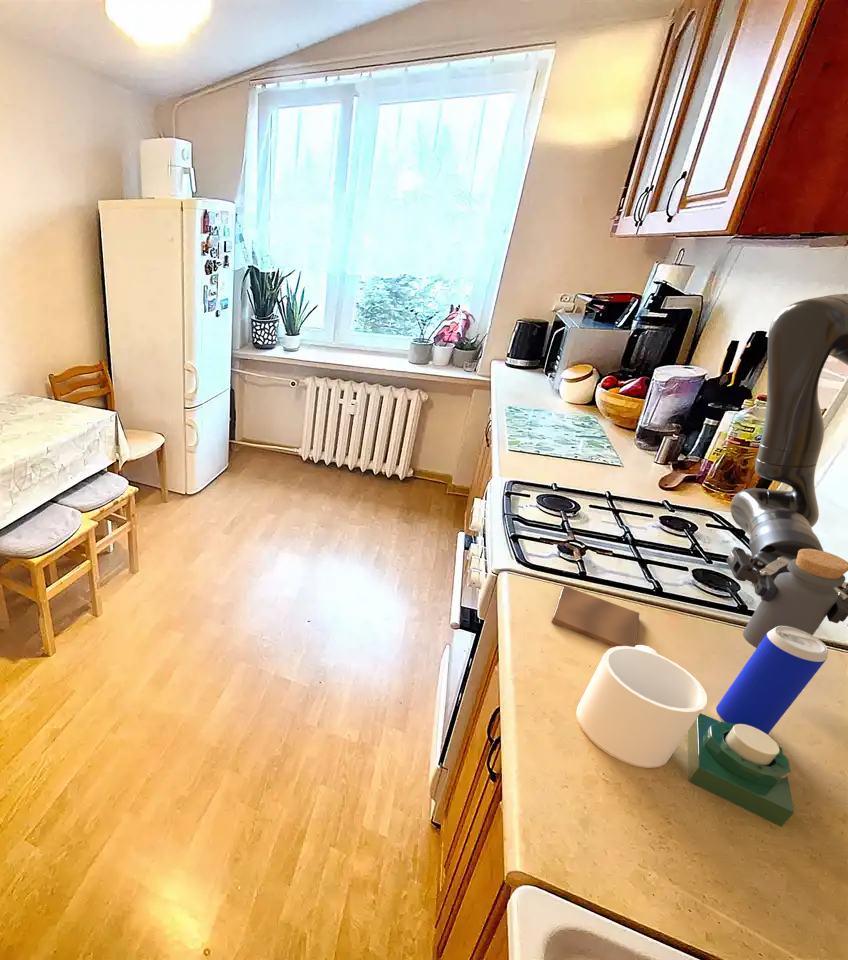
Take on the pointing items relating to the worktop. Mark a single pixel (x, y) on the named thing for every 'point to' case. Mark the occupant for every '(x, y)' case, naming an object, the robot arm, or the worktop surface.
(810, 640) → the beverage can
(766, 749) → the cream disc
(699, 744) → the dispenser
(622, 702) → the mug
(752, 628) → the bottle
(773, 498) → the robot arm
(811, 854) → the worktop surface
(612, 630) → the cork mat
